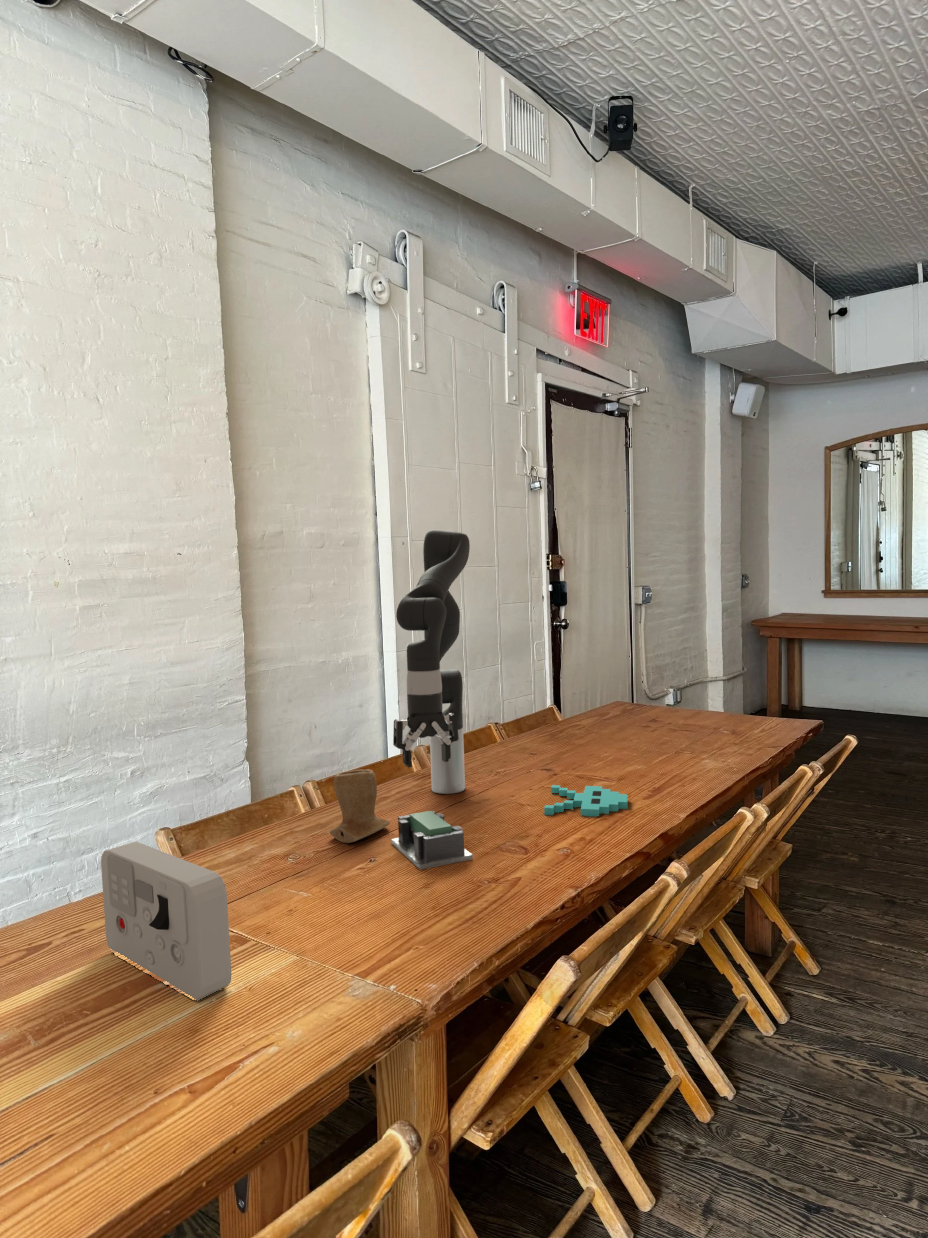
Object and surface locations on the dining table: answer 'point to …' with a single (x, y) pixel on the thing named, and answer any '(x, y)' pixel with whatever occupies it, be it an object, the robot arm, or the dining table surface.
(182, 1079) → the dining table surface
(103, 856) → the grey button box
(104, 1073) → the dining table surface
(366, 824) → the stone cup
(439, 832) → the green block
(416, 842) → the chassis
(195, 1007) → the dining table surface
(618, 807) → the alien figure
